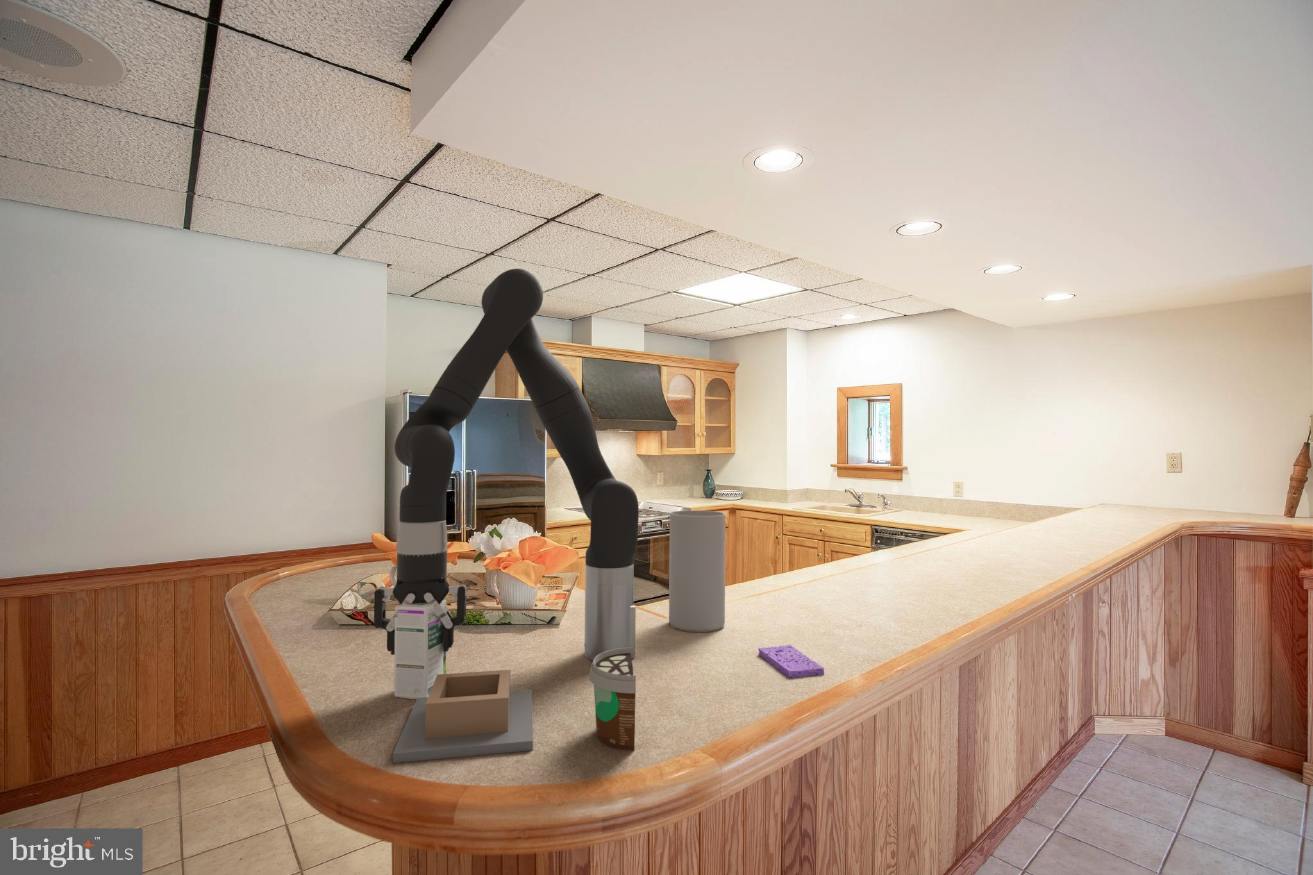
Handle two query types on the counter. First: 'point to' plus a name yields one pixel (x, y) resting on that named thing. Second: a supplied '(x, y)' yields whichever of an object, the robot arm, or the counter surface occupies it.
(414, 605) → the syrup box
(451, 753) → the socket holder
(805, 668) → the sponges
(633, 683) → the food container
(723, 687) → the counter surface
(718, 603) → the cylinder vase
